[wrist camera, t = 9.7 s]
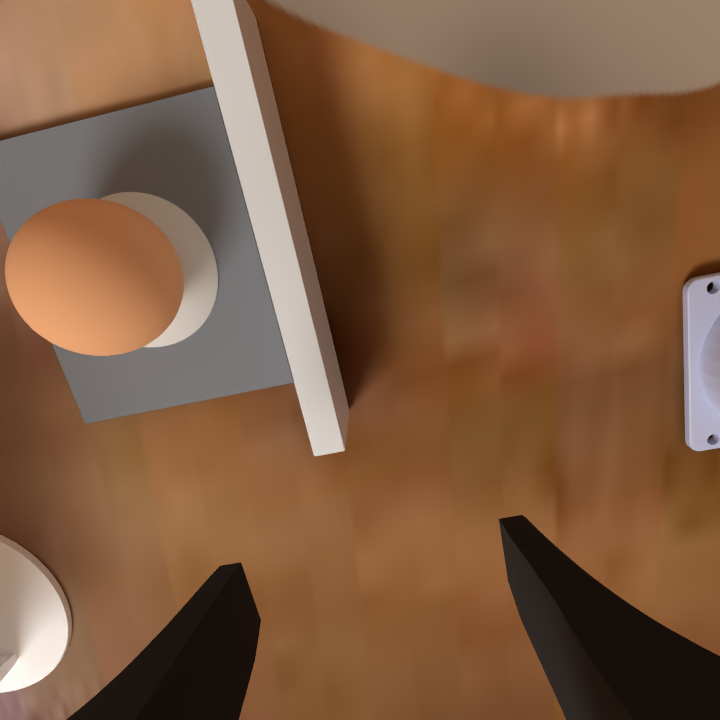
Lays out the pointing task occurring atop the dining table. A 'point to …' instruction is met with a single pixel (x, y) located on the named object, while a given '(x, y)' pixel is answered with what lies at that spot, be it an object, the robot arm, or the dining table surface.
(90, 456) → the dining table surface
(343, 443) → the fence
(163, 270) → the ball
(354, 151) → the dining table surface
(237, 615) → the robot arm
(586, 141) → the dining table surface
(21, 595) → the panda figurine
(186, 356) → the mat
